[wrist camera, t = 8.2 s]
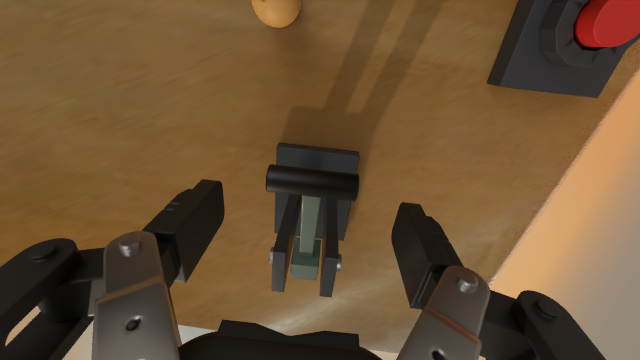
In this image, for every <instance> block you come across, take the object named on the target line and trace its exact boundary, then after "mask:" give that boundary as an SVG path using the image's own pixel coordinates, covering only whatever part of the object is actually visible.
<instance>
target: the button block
mask: <svg viewBox="0 0 640 360" xmlns="http://www.w3.org/2000/svg"><path fill="white" fill-rule="evenodd" d="M589 1H590V0H519V2H518V4H517V7H516V9H515V12H514V15H513V17H512V20H511V22H510V25H509V28H508V30H507V33H506V35H505V38H504V40H503V43H502V46H501V48H500V51H499V53H498V56H497V59H496V61H495V64H494V66H493V69H492V71H491V74H490V77H489V79H488V82H487V83H488V84H492V85H495V86H499V87H507V88H516V89H524V90H533V91H541V92H550V93H558V94H567V95H575V96H584V97H593V98H598V97H599V95H600V93H601V91H602V90H603V88H604V86H605V85H606V83H607V81H608V80H609V78H610V76H611V75H612V73H613V71H614V70H615V68H616V66H617V64H618V63H619V61H620V59H621V58H622V56H623V54H624V53H625V51H626V49H628V48H629V47H630V46H631V45H632V44H634V43H635V42H636V41H637V40H638V39H639V38H640V33H639V34H637V35H636V36H635V37H634V38H632V39H631V40H629V41H628V42H626V43H624V44H621V45H618V46H614V47H587V46H583V45H581V44H580V43H579V42H578V41H577V40H576V38H575V35H574V26H575V22H576V19H577V17H578V15H579V13H580V12H581V10H582V9H583V8H584V6H585V5H586V4H587V3H588V2H589Z"/></svg>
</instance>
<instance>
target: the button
mask: <svg viewBox="0 0 640 360" xmlns="http://www.w3.org/2000/svg"><path fill="white" fill-rule="evenodd" d="M639 33H640V0H590V1H589V2H588V3H587V4H586V5H585V6H584V8H583V9H582V10H581V12H580V13H579V15H578V17H577V19H576V22H575V26H574V35H575V38H576V40H577V41H578V42H579V43H580V44H581V45H583V46H587V47H614V46H618V45H621V44H624V43H626V42H628V41H629V40H631V39H632V38H634V37H635V36H636V35H637V34H639Z"/></svg>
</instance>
